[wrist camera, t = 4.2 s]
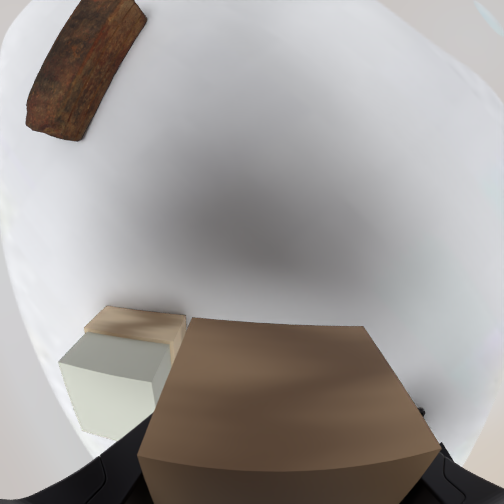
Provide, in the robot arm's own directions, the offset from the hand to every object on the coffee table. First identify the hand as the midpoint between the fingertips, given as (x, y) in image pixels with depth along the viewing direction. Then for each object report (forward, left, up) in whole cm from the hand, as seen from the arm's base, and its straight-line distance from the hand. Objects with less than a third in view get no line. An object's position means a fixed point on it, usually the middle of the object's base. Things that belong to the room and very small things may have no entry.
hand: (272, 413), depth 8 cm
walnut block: (0, 0, -1) cm, 1 cm away
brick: (+13, -15, -13) cm, 24 cm away
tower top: (+9, +7, -9) cm, 14 cm away
